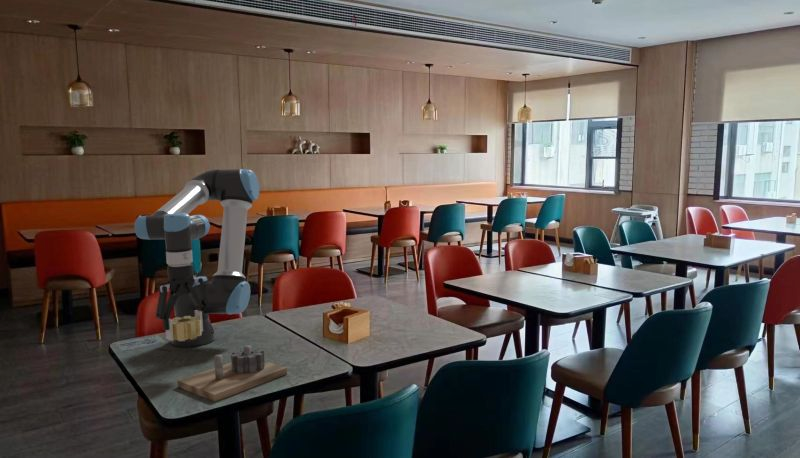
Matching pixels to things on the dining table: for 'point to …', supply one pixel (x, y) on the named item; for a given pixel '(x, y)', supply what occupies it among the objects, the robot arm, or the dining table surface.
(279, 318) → the dining table surface
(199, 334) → the brass gear
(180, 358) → the dining table surface
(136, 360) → the dining table surface
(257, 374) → the gear board
